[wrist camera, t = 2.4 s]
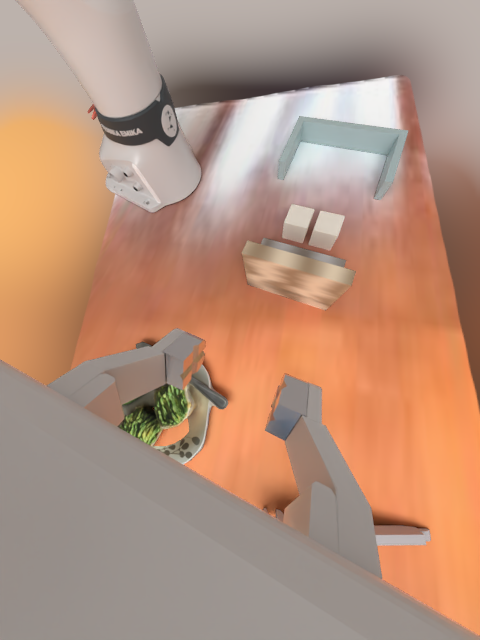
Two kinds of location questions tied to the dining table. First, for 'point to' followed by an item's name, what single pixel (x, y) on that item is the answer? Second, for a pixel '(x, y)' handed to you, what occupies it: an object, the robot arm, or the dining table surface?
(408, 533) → the caliper
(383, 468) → the dining table surface
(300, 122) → the tray
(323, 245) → the cream block
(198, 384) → the salad plate
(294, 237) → the cream block
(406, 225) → the dining table surface
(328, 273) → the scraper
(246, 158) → the dining table surface
